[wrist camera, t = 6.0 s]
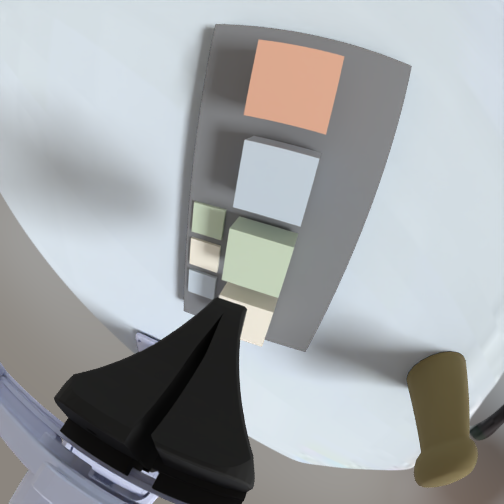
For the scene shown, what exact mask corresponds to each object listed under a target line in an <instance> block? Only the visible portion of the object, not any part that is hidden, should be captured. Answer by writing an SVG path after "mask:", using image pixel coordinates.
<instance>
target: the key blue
mask: <svg viewBox="0 0 504 504" xmlns="http://www.w3.org/2000/svg"><path fill="white" fill-rule="evenodd" d="M320 155H321V153H320V152H316V151H313V150H309V149H306V148H302V147H299V146H295V145H291V144H287V143H283V142H279V141H275V140H271V139H267V138H262V137H258V136H252V137H250V138H247V139H245V140H244V146H243V151H242V157H241V162H240V168H239V174H238V180H237V186H236V192H235V198H234V204H233V207H234V208H238V209H242V210H245V211H249V212H252V213H256V214H259V215H263V216H266V217H269V218H273V219H276V220H280V221H283V222H286V223H290V224H293V225H296V226H300V227H301V223H302V220H303V216H304V213H305V209H306V206H307V202H308V199H309V195H310V192H311V188H312V185H313V181H314V177H315V174H316V170H317V166H318V163H319V159H320Z"/></svg>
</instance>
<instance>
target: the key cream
mask: <svg viewBox="0 0 504 504" xmlns="http://www.w3.org/2000/svg"><path fill="white" fill-rule="evenodd" d="M219 298H221V299H224V300H227V301H230V302H233V303H236V304H239V305H242V306H245V307H246V308H247V312H246V317H245V321H244V325H243V329H242V333H241V337H240V340H243V341H246V342H249V343H252V344H255V345H258V346H261V347H262V345H263V342H264V339H265V336H266V333H267V331H268V328H269V325H270V322H271V319H272V316H273V313H274V310H275V307H276V303H277V300H278V298H277V297H273V296H270V295H267V294H264V293H261V292H258V291H255V290H252V289H248V288H245V287H242V286H239V285H236V284H233V283H230V282H227V283H226V285H225V286H224V288H223V290H222V291H221V293H220V295H219Z"/></svg>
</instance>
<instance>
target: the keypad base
mask: <svg viewBox="0 0 504 504" xmlns="http://www.w3.org/2000/svg"><path fill="white" fill-rule="evenodd" d="M258 40H267V41H274V42H281V43H287V44H293V45H298V46H303V47H308V48H313V49H317V50H322V51H326V52H330V53H334V54H338V55H341V56H344V61H343V65H342V70H341V74H340V79H339V83H338V87H337V91H336V96H335V100H334V104H333V108H332V112H331V116H330V120H329V124H328V128H327V132H326V135H325V134H322V133H318V132H315V131H311V130H307V129H304V128H300V127H296V126H292V125H288V124H284V123H279V122H275V121H270V120H266V119H261V118H256V117H251V116H246V115H244V110H245V105H246V100H247V94H248V89H249V84H250V79H251V74H252V69H253V64H254V59H255V54H256V49H257V45H258ZM411 67H412V66H410V65H408V64H405V63H403V62H400V61H398V60H395V59H393V58H390V57H387V56H385V55H382V54H379V53H376V52H373V51H370V50H367V49H364V48H361V47H358V46H354V45H351V44H347V43H344V42H340V41H336V40H332V39H328V38H324V37H319V36H314V35H310V34H304V33H299V32H293V31H287V30H281V29H273V28H265V27H255V26H244V25H226V24H216V25H215V30H214V34H213V39H212V44H211V49H210V54H209V60H208V65H207V70H206V76H205V82H204V88H203V94H202V101H201V107H200V114H199V121H198V128H197V136H196V144H195V152H194V161H193V170H192V180H191V190H190V201H189V213H188V227H187V242H186V260H185V283H184V311H185V312H188V313H191V314H193V315H196V314H197V313H199V312H200V311H201V310H202V309H203V308H204V307H206V306H207V305H208V304H209V303H210V302H211V301H212V300H213V299H214V298H216V297H219V295H220V293H221V291H222V290H223V288H224V286H225V285H226V283H227V281H224V280H222V274H223V268H224V261H225V254H226V248H227V241H228V235H229V228H230V227H231V226H232V225H233V223H234V222H235V221H236V220H237V218H238V217H239V216H240V217H244V218H247V219H251V220H254V221H257V222H261V223H264V224H268V225H271V226H274V227H278V228H281V229H284V230H288V231H291V232H294V233H298V236H297V240H296V243H295V247H294V250H293V253H292V256H291V260H290V263H289V266H288V269H287V272H286V276H285V279H284V282H283V285H282V288H281V291H280V294H279V297H278V300H277V303H276V307H275V310H274V313H273V316H272V319H271V322H270V325H269V328H268V331H267V333H266V336H265V339H264V340H267V341H271V342H274V343H277V344H280V345H284V346H287V347H290V348H294V349H297V350H300V351H304V352H306V350H307V348H308V346H309V344H310V342H311V340H312V339H313V337H314V335H315V333H316V331H317V329H318V327H319V325H320V323H321V321H322V319H323V317H324V315H325V313H326V311H327V309H328V307H329V305H330V302H331V300H332V298H333V296H334V294H335V292H336V290H337V287H338V285H339V283H340V281H341V279H342V276H343V274H344V272H345V270H346V267H347V265H348V263H349V260H350V258H351V256H352V253H353V251H354V249H355V246H356V244H357V241H358V239H359V236H360V234H361V231H362V229H363V226H364V224H365V221H366V219H367V216H368V213H369V211H370V208H371V205H372V203H373V200H374V197H375V194H376V191H377V189H378V186H379V183H380V180H381V177H382V174H383V171H384V168H385V165H386V162H387V159H388V155H389V152H390V149H391V146H392V142H393V139H394V136H395V132H396V129H397V125H398V121H399V118H400V114H401V110H402V106H403V102H404V98H405V94H406V90H407V86H408V81H409V77H410V72H411ZM252 136H258V137H262V138H267V139H271V140H275V141H279V142H283V143H287V144H291V145H295V146H299V147H302V148H306V149H309V150H313V151H316V152H320V153H321V155H320V159H319V163H318V166H317V170H316V174H315V177H314V181H313V185H312V188H311V192H310V195H309V199H308V202H307V206H306V209H305V213H304V216H303V220H302V223H301V227H300V226H296V225H293V224H290V223H286V222H283V221H280V220H276V219H273V218H269V217H266V216H263V215H259V214H256V213H252V212H249V211H245V210H242V209H238V208H234V207H233V204H234V198H235V192H236V186H237V180H238V174H239V168H240V162H241V157H242V151H243V146H244V140H245V139H247V138H250V137H252Z"/></svg>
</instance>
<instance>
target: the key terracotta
mask: <svg viewBox="0 0 504 504" xmlns="http://www.w3.org/2000/svg"><path fill="white" fill-rule="evenodd" d="M343 61H344V56H341V55H338V54H334V53H330V52H326V51H322V50H317V49H313V48H308V47H303V46H298V45H293V44H287V43H281V42H274V41H267V40H258V45H257V49H256V54H255V59H254V64H253V69H252V74H251V79H250V84H249V89H248V94H247V100H246V105H245V110H244V115H246V116H251V117H256V118H261V119H266V120H270V121H275V122H279V123H284V124H288V125H292V126H296V127H300V128H304V129H307V130H311V131H315V132H318V133H322V134H325V135H326V132H327V128H328V124H329V120H330V116H331V112H332V108H333V104H334V100H335V96H336V91H337V87H338V83H339V79H340V74H341V70H342V65H343Z"/></svg>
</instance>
